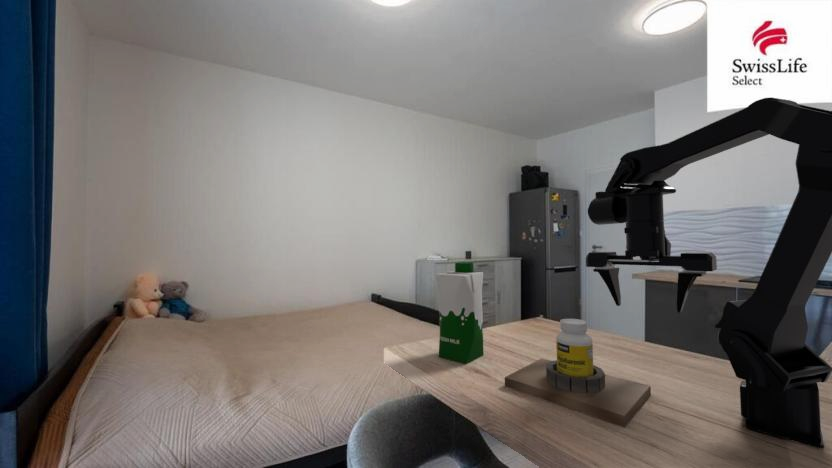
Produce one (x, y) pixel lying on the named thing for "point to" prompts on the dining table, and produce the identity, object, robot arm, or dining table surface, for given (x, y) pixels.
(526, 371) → the socket board
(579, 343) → the supplement bottle
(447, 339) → the milk carton
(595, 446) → the dining table surface
